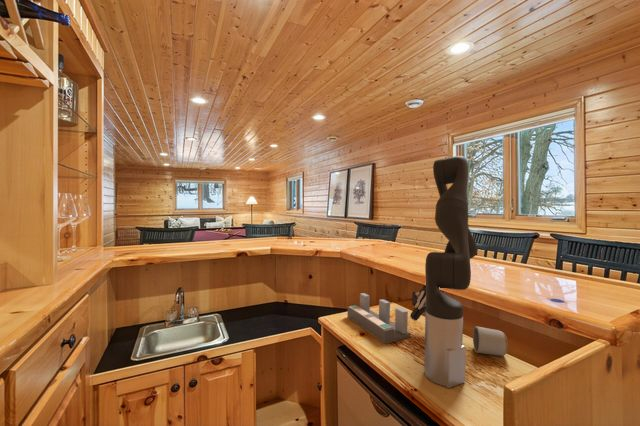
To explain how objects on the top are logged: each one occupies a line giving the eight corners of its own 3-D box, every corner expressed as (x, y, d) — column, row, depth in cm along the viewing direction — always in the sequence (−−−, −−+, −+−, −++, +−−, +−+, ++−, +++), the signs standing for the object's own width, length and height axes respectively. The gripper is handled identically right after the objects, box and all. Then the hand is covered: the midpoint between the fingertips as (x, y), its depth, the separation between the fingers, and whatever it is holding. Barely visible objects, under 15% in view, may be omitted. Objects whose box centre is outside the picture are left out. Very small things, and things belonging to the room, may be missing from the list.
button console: (410, 337, 101) (410, 323, 101) (384, 343, 96) (384, 329, 96) (370, 312, 123) (370, 301, 122) (347, 317, 118) (347, 305, 118)
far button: (369, 314, 117) (369, 295, 117) (365, 315, 116) (365, 296, 116) (363, 310, 121) (364, 292, 120) (359, 311, 120) (359, 293, 119)
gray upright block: (389, 322, 110) (390, 302, 109) (385, 323, 109) (385, 303, 108) (383, 318, 113) (383, 299, 113) (378, 319, 112) (379, 299, 112)
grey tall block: (407, 332, 101) (407, 311, 101) (402, 333, 100) (403, 312, 100) (399, 328, 105) (399, 307, 104) (395, 329, 104) (395, 308, 103)
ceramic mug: (509, 361, 86) (509, 335, 86) (478, 357, 88) (478, 332, 88) (496, 344, 96) (497, 321, 96) (469, 341, 98) (470, 318, 98)
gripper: (420, 270, 114) (394, 306, 109) (448, 279, 102) (420, 319, 97) (430, 282, 116) (405, 318, 112) (458, 292, 104) (432, 332, 100)
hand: (412, 318), depth 104 cm, fingers closed
